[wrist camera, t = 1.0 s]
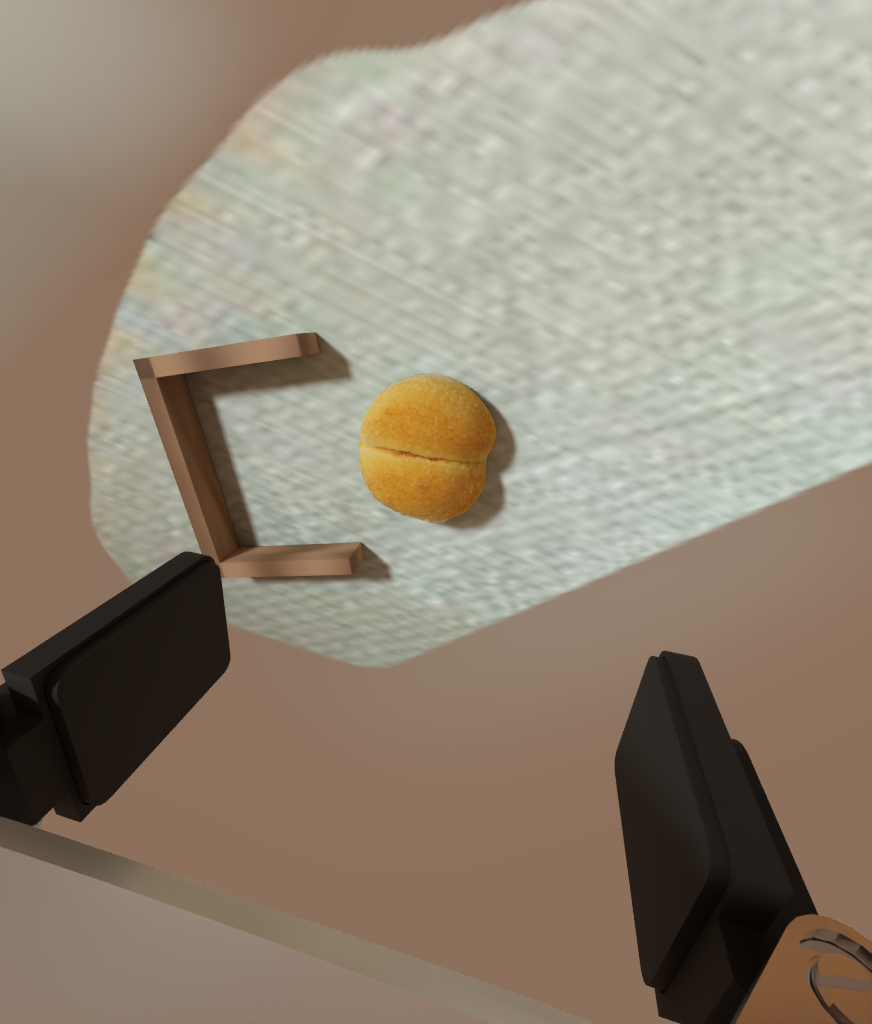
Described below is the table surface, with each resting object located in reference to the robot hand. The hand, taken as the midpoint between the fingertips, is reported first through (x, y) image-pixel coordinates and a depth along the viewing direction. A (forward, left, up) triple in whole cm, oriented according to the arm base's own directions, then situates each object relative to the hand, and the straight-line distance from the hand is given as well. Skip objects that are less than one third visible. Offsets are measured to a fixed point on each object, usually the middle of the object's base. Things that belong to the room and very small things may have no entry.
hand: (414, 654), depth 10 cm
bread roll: (+4, +1, -21) cm, 22 cm away
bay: (+15, +1, -21) cm, 26 cm away
